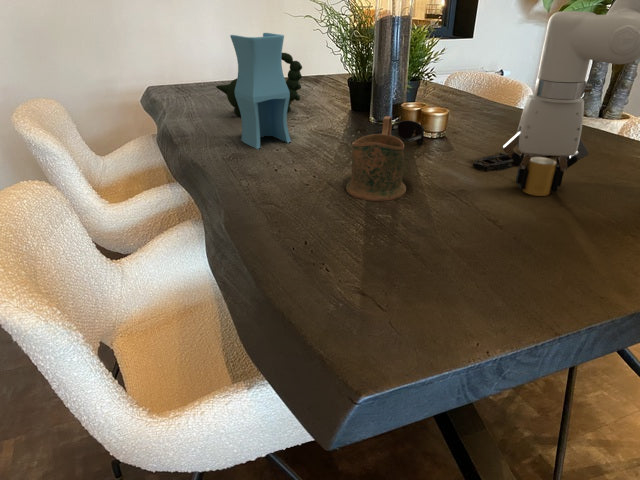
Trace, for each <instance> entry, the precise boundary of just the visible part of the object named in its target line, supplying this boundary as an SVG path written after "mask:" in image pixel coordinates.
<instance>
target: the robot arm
mask: <svg viewBox="0 0 640 480" xmlns="http://www.w3.org/2000/svg"><path fill="white" fill-rule="evenodd" d="M544 36H545V37H544V41H543V47H542V51H541V56H540V60H539V61H540V62H539V67H538V72H537V77H536V82H535V87H534V91H533V94H529V95H528V97H527V99H526V101H525V103H524V106H523V108H522V113H521V116H520V119H519V123H518V127H517V131H516V133H515V135H514V136H512V137H511V138H510V139H509V140H508V141H506V143H505V144H503V146H502V150H503V152H504V153H506V154H508V155H509V156H510V157H511V158H512V159H513V160H514V161H515V163H516V164H517V165H516V166H517V171H516V176H515V184H517V185H518V188H519V190H522V191H523V189H525V185H526V180H527V175H528V169H527V164H528V163H529V161H530V159H531V157H532V155H549V156H551V157H552V156H553V157H554V156H555V158H556V159H555V161H556V162H557V166H556V170H555V174H554V179H553V183H552V187H551V191H552V192H553V193H555V192H557V191H558V188H559V187H561V185H562V182H563V178H564V173H565V172H567V171H568V169H569V168H570V167H572V166H574V165H575V164H577V162H578V161H580V160H583V159H584V158H586V157H588V155H589V154H590V151H589V150H588V148H587V147H586V145H585V144H584V142H583V140H582V138H581V136H582V130H583V122H584V113H585V99H583V98H582V97H583V96H584V95H585V94H587V93H591V92H592V90H593V84H592V83H588V82H587V80H586V77H587V74H588V73H587V72H588V69H589V65H590V61H596V62H601V63H606V64H612V65H625V64H630V63H632V62H635V61H637V60H639V59H640V0H615V1H614V2H613V4H612V5H611V7H610V8H609V10H608V12H606V14H596V13H595V12H592V11H578V10H565V11H563V10H562V11H557V12H555V13H553V14H552V15H551V16H550V18H549V19H548V21H547V26H546V30H545V35H544ZM515 147H518V151H519V152H520V153H518V152H517V151H516V150H515V149H514V148H515ZM519 154H521V155H520V156H519Z"/></svg>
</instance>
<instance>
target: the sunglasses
mask: <svg viewBox="0 0 640 480" xmlns="http://www.w3.org/2000/svg"><path fill="white" fill-rule="evenodd" d="M395 130H397V134H398V137H400V138H401V139H400V140H401V141H402V142H403V143H404V142H408V143H412V142H415V141H416V145H417V146H423V143H424V139H425V129H424V126H423V125H422V124H421V123H419V122H417V121H414V120H409V119H408V120H401V121H400V122H399V123H396V124H394V125H392V127H391V132H392V131H395ZM381 133H382V129H381V130H378V131H376V132H374V133H373V134H381ZM413 135H414V136H413Z"/></svg>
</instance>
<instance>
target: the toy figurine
mask: <svg viewBox="0 0 640 480" xmlns="http://www.w3.org/2000/svg"><path fill="white" fill-rule="evenodd" d="M281 60H282V61H283V62H285V63H286V64H288V65H289V70H288V72H287V79H286V80H285V81H286V84H287V87H288V89H289V92H290V99H289V104H288V109H287V113H290V112H291V111H292V107H291V104H292V102H294V101H297V102H299V101H300V100H301V96H300V94H299V93H298V91H299V90H301V89H302V85H301V84H300V80H301V79H302V78H303V76H302V73H301V70H303V66H302V64H301V63H300V61H298V60H294V58H293V56H292V55H291V54H290V53H287V52H282V58H281ZM236 83H237V78H234V79H233V80H231V81H230V83H228V84H219V85H216V86H215V88H217V89H218V90H219V91H221V92H222V93H223V94H225V95H226V98H227V101H228V103H229V104H230V105H231V106H232V107H233V113H234V115H235V116H237V117H241V113H240V110H239V106H238V103H237V100H236V97H235V87H236Z"/></svg>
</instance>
